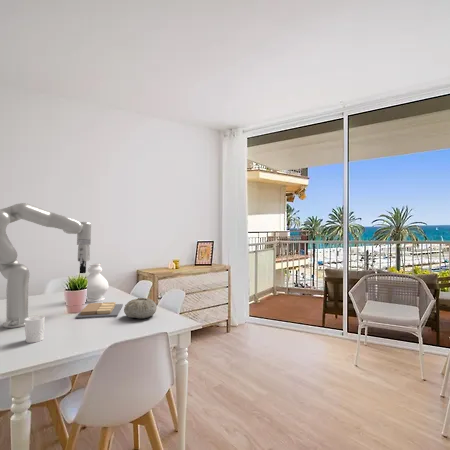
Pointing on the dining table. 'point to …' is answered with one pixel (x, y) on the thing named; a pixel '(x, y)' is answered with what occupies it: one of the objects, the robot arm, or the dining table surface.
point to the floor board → (113, 314)
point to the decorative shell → (140, 308)
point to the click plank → (106, 308)
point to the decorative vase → (96, 283)
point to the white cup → (34, 328)
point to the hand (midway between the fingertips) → (82, 272)
